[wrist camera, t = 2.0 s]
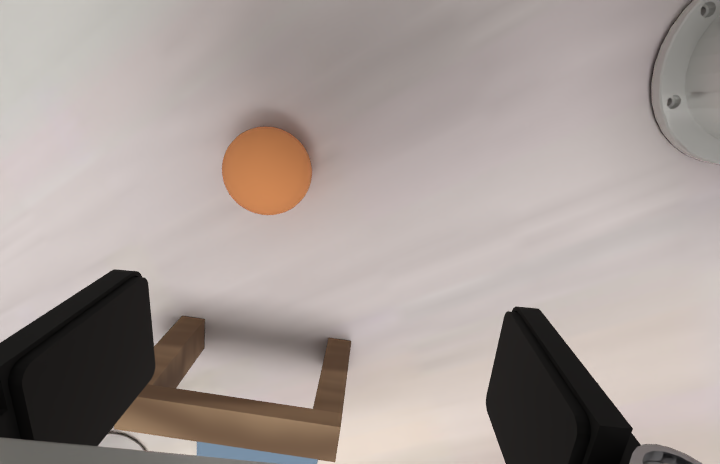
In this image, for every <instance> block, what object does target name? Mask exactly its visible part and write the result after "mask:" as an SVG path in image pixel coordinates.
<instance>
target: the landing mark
mask: <svg viewBox="0 0 720 464" xmlns="http://www.w3.org/2000/svg"><path fill="white" fill-rule="evenodd" d="M197 456H205V457H215V458H226V459H236V460H246V461H256V462H267V463H277V464H317V461H318V460H317V459H311V458H304V457H297V456H291V455H284V454H277V453H271V452H264V451H257V450H251V449H244V448H237V447H231V446H224V445H217V444H211V443H204V442H197Z"/></svg>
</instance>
